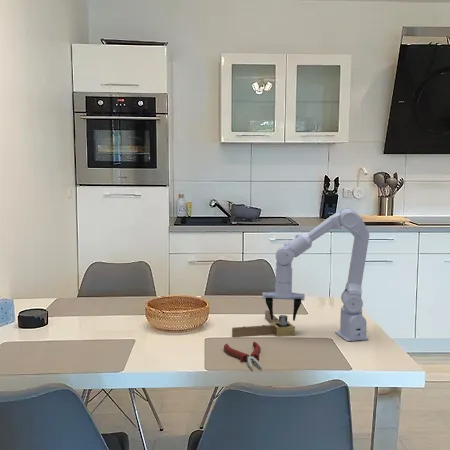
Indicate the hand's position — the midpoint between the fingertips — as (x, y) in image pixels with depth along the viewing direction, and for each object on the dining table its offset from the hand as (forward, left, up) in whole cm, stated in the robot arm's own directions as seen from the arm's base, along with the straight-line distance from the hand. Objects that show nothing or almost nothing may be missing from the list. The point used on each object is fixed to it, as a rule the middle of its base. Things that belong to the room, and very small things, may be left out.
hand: (282, 319), depth 189 cm
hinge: (+7, +7, -5) cm, 12 cm away
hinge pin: (0, 0, -5) cm, 5 cm away
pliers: (-20, +20, -6) cm, 29 cm away
